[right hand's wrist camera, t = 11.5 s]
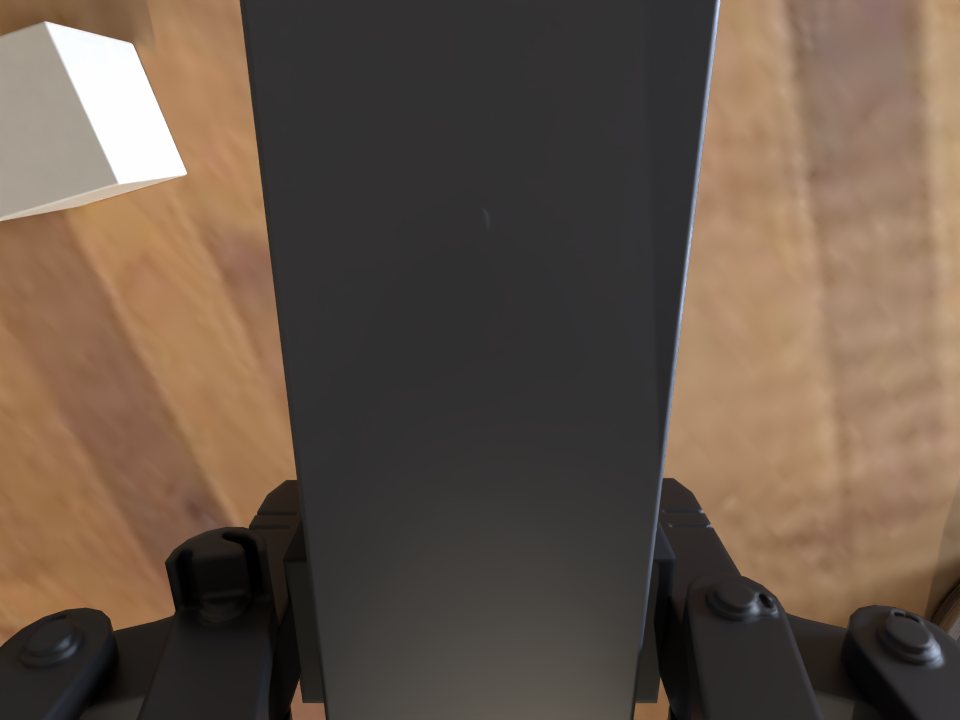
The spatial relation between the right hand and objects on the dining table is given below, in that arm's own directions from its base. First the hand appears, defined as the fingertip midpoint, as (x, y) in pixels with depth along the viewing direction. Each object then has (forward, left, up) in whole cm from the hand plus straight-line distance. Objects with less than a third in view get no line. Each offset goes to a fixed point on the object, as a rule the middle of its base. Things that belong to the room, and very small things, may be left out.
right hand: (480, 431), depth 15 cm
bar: (0, -11, 0) cm, 11 cm away
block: (+15, -7, -13) cm, 21 cm away
